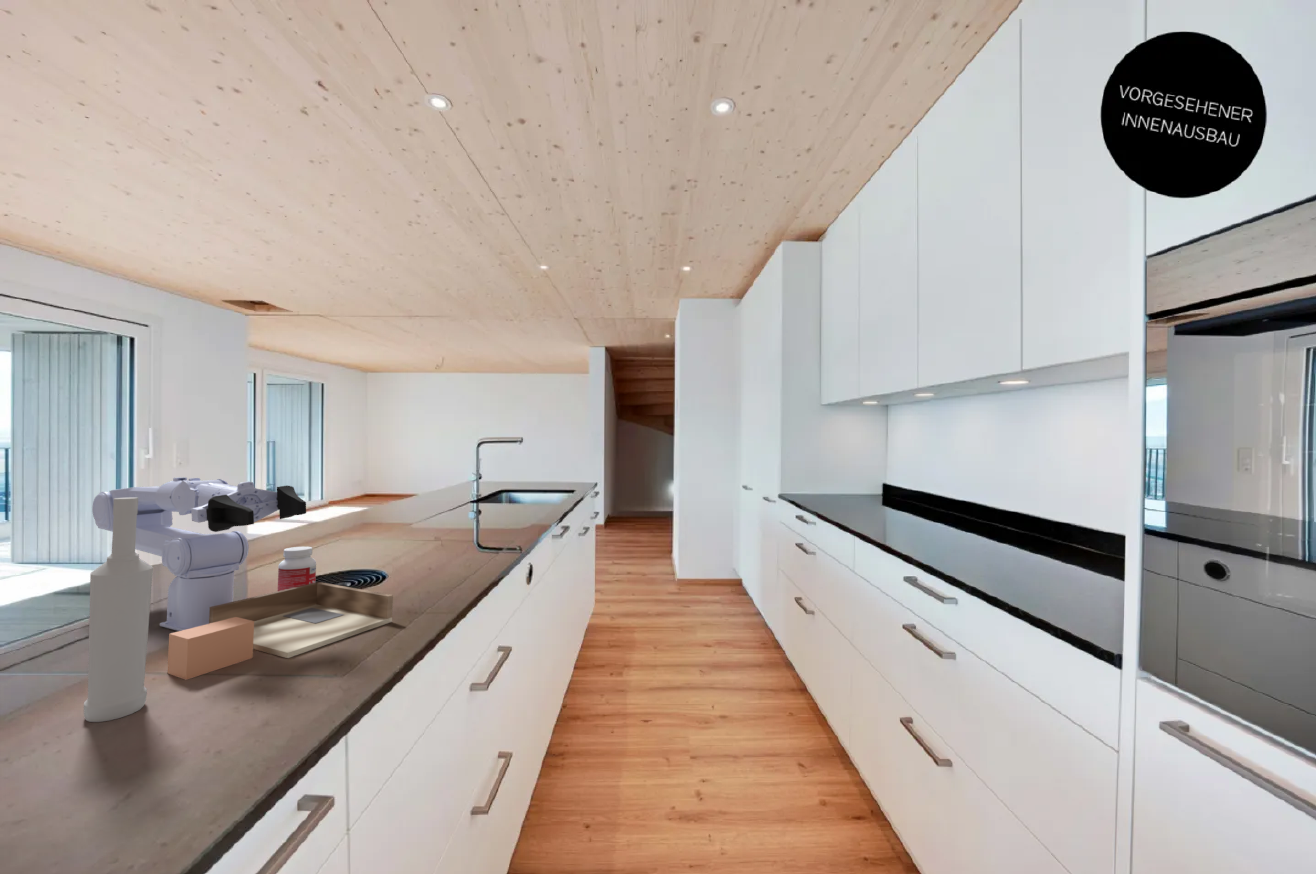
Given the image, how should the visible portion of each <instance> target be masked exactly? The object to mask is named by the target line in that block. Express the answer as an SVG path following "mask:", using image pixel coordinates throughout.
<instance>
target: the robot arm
mask: <svg viewBox="0 0 1316 874" xmlns="http://www.w3.org/2000/svg"><path fill="white" fill-rule="evenodd" d="M127 497H137V498H138V513H137V521H136V544H135V551H141V552H143V553H146V554H152V555H155V556H158V557H161V564H162V566H163V567H166V568H167V569H168V571H169V572H170V573H171V574H172V575H174V576H175V577H174V579H172V581H171V582H170V584H169V585H168V590H167V608H166V609H167V610H166V621H162V622H159V627H163V628H166V629H170V630H173V631H176V632H178V631H182V630H186V629H190V628H194V627H198V626H202V625H206V624H209V610H210V607H212V606H216V605H221V604H225V603H229V602H234V584H235V571H239V570H240V566H241V565H242V564H244V562H245V560H246V559H247V558H248V555H249V548H250V547H249V541H248V539H247V536H246V535H244V533H243V532H242V531H239V530H234V531H230V532H224V531H229V530H230V529H232V528H233V527H243V526H244V527H245V526H251V525H254V524H255V523H257V522H259V521H260V520H262V519H264V518H266V517H268V516H270V515H271V514H274V513H276V512H277V511H279V520H282V519H288V518H291V517H294V516H302V515H306V514H307V502H306V501H305V500H304V499H303V498H300V496H299V493H296V491H295V488H294V486H292V485H282V486H281V485H280V486H276V491H274V490H267V489H261V488H256V487H255V483H254V482H252V481H242V482H239V483H237V485H233V484H229V483H228V482H227V481H226V480H224V479H222V478H218V479H208V480H207V479H205V480H201V478H200V477H189V478H188V477H186V476H185V477H184V476H183V477H182V476H181V477H180V476H179V477H173V478H172V480H171V481H167V482H165V483H163V484H161V485H160V486H159V485H154V486H153V485H152V486H149V485H148V486H132V487H124V488H117V489H112V490H109V491H100V492H98V493H97V495H96V496H95V497H94V499H93V501H92V507H91V508H92V511H91V512H92V517H93V518H94V522H95V524H96V526H97V528H98V529H101V530H104V531H108V532H111V533H113V518H114V515H113V505H114V498H127ZM173 512H174V513H175V512H176V513H178V515H179V516H186V515H189V514H190V515H191V521H192V522H195V523H199V524H200V523H203V522H207V528H208V530H209V531H212V532H214V533H201V532H200V533H199V532H195V531H191V530H187V529H182V528H178V527H172V526H173ZM218 532H222V533H218Z"/></svg>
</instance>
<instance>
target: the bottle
mask: <svg viewBox="0 0 1316 874" xmlns="http://www.w3.org/2000/svg"><path fill="white" fill-rule="evenodd" d="M137 513H138V498H137V497H127V498H114V505H113V515H114V518H113V532H112V537H111V539H112V541H111V554H110V555H109V556H107V557H106V561H104V562H103V563H102V564H100V566H98V567H97V568H96V569H94V570H92V571H91V572H90V576H89V577H90V580H89V581H90V582H89V583H90V584H89V619H88V620H89V623H88V628H89V629H88V630H89V631H88V662H87V663H88V664H87V665H88V668H87V669H88V670H87V672H88V673H87V674H88V675H87V699H86V700H85V701H84V702H83V716H84V719H85V721H87V722H89V723H102V722H106V721H107V722H108V721H112V720H117V719H120V718H124V717H127V716H129V715H132V714H134V713H135V712H138V711H140V710H141V709H142V708H143V707H144V706H145V703H146V701H147V695H148V691H147V690H148V689H147V687H146V686H145V677H146V664H147V651H148V637H149V624H150V613H151V612H150V610H151V598H152V596H151V595H152V586H153V585H152V583H153V574H154V573H153V571H154V567H153V566H152V565H151V564H149V563H148V562H146V561H144V560H143V559H142V558H140V554H138V553H137V552H136V549H135V544H136V521H137Z"/></svg>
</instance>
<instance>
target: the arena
mask: <svg viewBox="0 0 1316 874" xmlns="http://www.w3.org/2000/svg"><path fill="white" fill-rule="evenodd" d="M393 601H394V595H393V594H390V593H384V592H379V591H374V590H373V591H371V590H367V589H361V588H355V587H349V586H345V585H339V584H338V585H337V584H333V583H328V582H327V583H326V582H322V581H315V583H312V584H307V585H303V586H299V587H294V588H290V589H286V590H281V591H274V592H269V593H265V594H260V595H257V596H256V595H255V596H251V597H248V598H243V599H239V600H233V602H229V603H225V604H221V605H216V606H212V607H210V610H209V624H210V623H214V622H218V621H221V620H225V619H229V618H233V617H239V618H243V619H247V620H251V621H254V637H253V650H255V651H256V650H257V651H259V652H263V653H267V654H271V655H275V656H278V657H282V658H286V659H289V658H293V657H295V656H298V655H301V654H304V653H307V652H310V651H312V650H315V649H318V648H321V647H324V646H326V645H329V644H332V643H336V642H338V641H341V640H344V639H346V638H347V639H348V638H349V637H352V636H356V635H359V634H361V633H364V632H367V631H369V630H372V629H375V628H379V627H382V626H384V625H387V624H389V623H392V622H393V607H394V606H393V604H394V602H393Z"/></svg>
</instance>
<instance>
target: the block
mask: <svg viewBox="0 0 1316 874" xmlns="http://www.w3.org/2000/svg"><path fill="white" fill-rule="evenodd" d="M168 635H169V636H168V654H167V675H170V676H173V677H178V678H179V679H183V680H185V681H186V680H189V679H192V678H196V677H198V676H202V675H205V674H209V673H211V672H213V671H216V670H217V671H218V670H220V669H222V668H226V667H229V666H233V665H235V664H238V663H242V662H245V661H247V660H251V659H253V657H254V649H253V637H254V621H251V620H247V619H243V618H239V617H233V618H229V619H225V620H221V621H218V622H214V623H210V624H206V625H202V626H198V627H194V628H190V629H186V630H182V631H175V632H171V633H169V634H168Z"/></svg>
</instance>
